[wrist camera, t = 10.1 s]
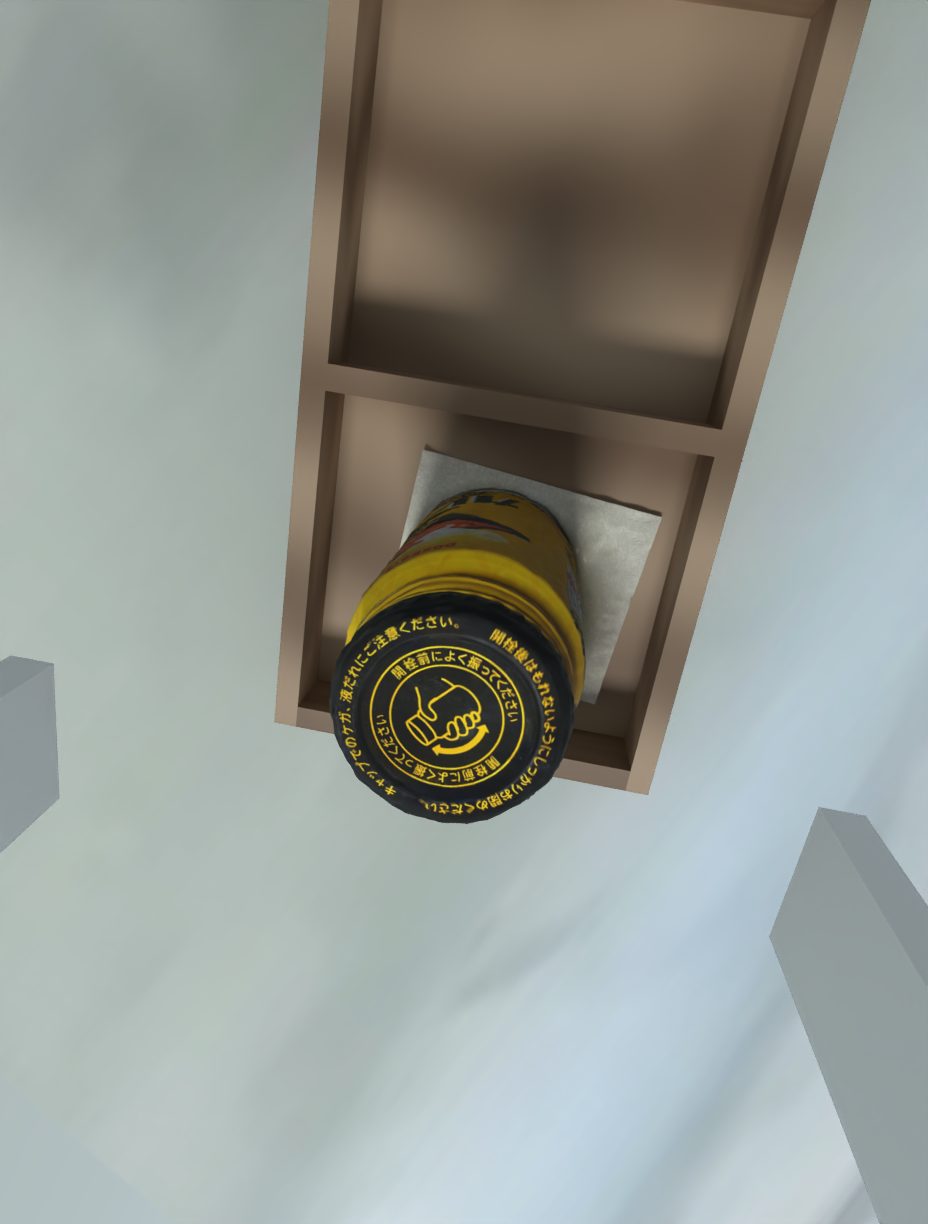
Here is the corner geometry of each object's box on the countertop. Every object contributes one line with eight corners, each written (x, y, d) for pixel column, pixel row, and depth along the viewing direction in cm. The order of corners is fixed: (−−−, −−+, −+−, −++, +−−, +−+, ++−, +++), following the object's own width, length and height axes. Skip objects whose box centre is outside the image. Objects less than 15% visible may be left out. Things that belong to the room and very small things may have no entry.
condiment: (423, 448, 25) (323, 522, 14) (661, 516, 25) (750, 644, 14) (378, 638, 28) (261, 828, 17) (594, 700, 28) (624, 935, 17)
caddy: (367, -68, 21) (339, -132, 19) (841, -2, 21) (887, -59, 18) (300, 687, 30) (274, 722, 27) (638, 752, 29) (647, 795, 26)
